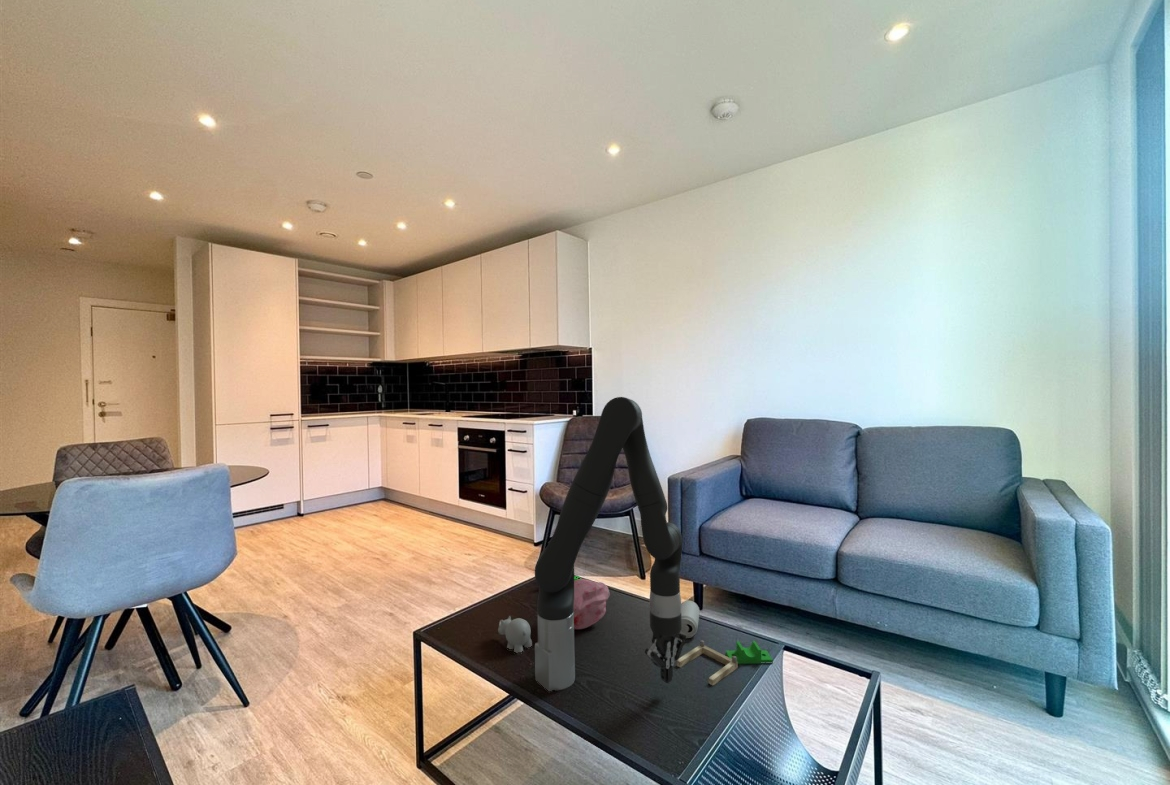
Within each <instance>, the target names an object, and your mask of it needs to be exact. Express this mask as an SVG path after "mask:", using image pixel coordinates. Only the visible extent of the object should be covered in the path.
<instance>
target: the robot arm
mask: <svg viewBox="0 0 1170 785" xmlns="http://www.w3.org/2000/svg"><path fill="white" fill-rule="evenodd" d="M645 432H646V431H645V427H644V421H643V412H642V409H641V407H640V405H639V404H638V403H637V402H636V401H635V400H633V399H631V398H628V397H625V396H617V397H613V398H612V399H610V400H609V401H608V402H607V403H606V404H605V405H604V407H603V409H602V411H601V414H600V417H599V421H598V423H597V426H596V429H595V433H594V435H593V438H592V441H591V444H590V446H589V447H588V450H587V452H586V454H585V456H584V458H583V460H582V462H581V463H580V465H579V467H578V470H577V472H576V474H575V475H574V478H573V480H572V481H571V482H572V483H571V484H570V487H569V488H568V491H567V493H566V497H565V498H564V502H563V504H562V508H561V510H560V514H559V517H558V520H557V524H556V526H555V530H554V532H553V534H552V537H551V538H550V540H549V542H548V544H547V546H546V548H544V549H543V550H542V551H541V552H540V554H539V557H538V558H537V561H536V563H535V566H534V578H535V581H536V584H537V586H538V597H537V602H536V608H537V610H536V612H537V642H535V643H534V666H535V667H534V668H535V669H534V670H535V671H534V672H535V679H534V680H536V681H538V682H539V683H540V684H541V685H542V686H543V687H544V688H543V687H542V686H541V685H540V684H539V683H538V682H537V683H538V684H539V685H540V686H541V687H542V688H543V689H545V688H546V689H547V690H548V691H551V692H553V691H552V690H555V691H562V690H565V689H568V688H569V687H570V686H572V685H573V684H574V682H575V680H576V666H575V665H576V661H575V654H576V652H575V629H574V576H575V563H576V560H577V557H578V554H579V552H580V549H581V547H582V545H583V542H584V541H585V539H586V537H587V536H588V534H589V532H590V531H591V529H592V527H593V525H594V522H596V519H597V517H598V515H599V513H600V512H601V509H602V508H603V505H604V503H605V500H606V499H607V496H608V494H609V491H610V488H611V485H612V482H613V477H614V474H615V471H616V470H615V468H616V465H617V461H618V458H619V456H620V454H621V451H622V450H623V453H624V456H625V460H626V465H627V471H628V477H629V482H630V486H631V490H632V493H633V496H634V500H635V503H636V506H637V509H638V512H639V515H640V516H639V518H640V527H641V533H642V538H643V544H644V547H645V548H646V550H647V552H648V554H649V555H651V556H652V557H653V558H654V561H653V563H652V566H651V568H650V571H649V585H650V586H649V587H650V590H649V591H650V592H649V626H650V629H651V631H652V638H651V646H649V648H648V647H646V649H645V650H644V653H645V655H646V656H647V657H648V659H649V660H650V661H651V663H652V664H653V665H654V666H656V667H658V668H659V670H660V672H659V673H660V679H661V681H662V682H664V683H666V684H669V683H671V682H672V681H673V676H674V674H673V672H674V668H673V667H674V665H675V661H677V660H678V659H679V658H680V656H681V653H682V651H683V647H684V644H685V642H686V639H687V638H686V635H684V634H682V633H680V631H681V629H682V615H681V603H682V597H681V583H680V580H681V578H680V577H681V576H680V568H681V563H682V562H681V561H682V556H683V541H684V540H683V536H682V535H683V534H682V533H681V530H680V529H679V527H678V526H677V525H676V524H674V523H672V522H670V521H669V522H667V516H666V513H667V511H668V502H667V499H666V497H665V494H664V490H663V487H662V485H661V482H660V479H659V475H658V473H657V470H656V467H655V465H654V462H653V460H652V457H651V453H650V449H649V446H648V442H647V437H646V433H645ZM536 681H535V682H536ZM546 689H545V690H546ZM547 690H546V691H547ZM548 691H547V692H548Z"/></svg>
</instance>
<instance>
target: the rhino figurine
mask: <svg viewBox="0 0 1170 785" xmlns="http://www.w3.org/2000/svg"><path fill="white" fill-rule="evenodd" d="M498 623H499V624H498V629H497V631H498V634H499V635H501V636H503V635H504V636H505V639H506V641H507V645H506V649H507V648H509V649H513V648H514V650H513V653H514V652H516V653H518V652H522V651H523V652H524V647H527V648H528V647H531V646H532V647H533V641H532V639H531V638H532V637H531V633H532V632H531V626H530V624H529V622H528V621H527V620H525V619H523V618H520V617H518V618H514V619H512V617H511V615H508V617H507V619H504V620H503V619H500V620H499V622H498ZM523 646H524V647H523ZM532 647H531V648H532ZM528 649H529V648H528Z"/></svg>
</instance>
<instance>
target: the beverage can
mask: <svg viewBox="0 0 1170 785" xmlns="http://www.w3.org/2000/svg"><path fill="white" fill-rule="evenodd" d="M700 612H701V611H700V607H699V605H698V604H697V603H696V602H694V601H693V600H684V601H681V615H682V629H681V631H680V633H682V634H684V635H686V639H691V638H693V637H694V636H695V635H696V634H697V631H698V628H699V627H698V626H699V620H700ZM688 625H689V626H690V627H689V626H688ZM689 631H690V632H689Z"/></svg>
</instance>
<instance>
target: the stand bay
mask: <svg viewBox="0 0 1170 785" xmlns="http://www.w3.org/2000/svg"><path fill="white" fill-rule="evenodd" d="M701 655H705V656H707V657H709V658H711V659H713V660H715V661H717V662H719V663H722V664H723V665H725V666H723V667H722V668H720V669H719V670H718V671H716V672H715V673H713V674H711V676H709V677H708V684H710V686H715V685H716V684H717V683H719V682H720V681H723V679H724V678H726V677H727V676H729V675H730V674H732V673H733V672H734V671H736V670H738V668H739V666H738V665H739V663H738V662H737V657H736V656H732V659H731V658H729V657H727V655H726V654H722V653H721V652H718V651H717V650H715V649H713V648H711V647H709V646H707V645H705V640H703V639H701V640H699V645H697V646H696V647H694V648H693V649H691V650H689V651H688V652H686V653H685V654H683V655H682V656H681V657H680V656H679V659H678V660H676V666H677V667H679V668H682V667H684V666H685V665H687V664H689V663H690V662H691V661H693V660H694V659H696V658H698V657H699V656H701Z"/></svg>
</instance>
